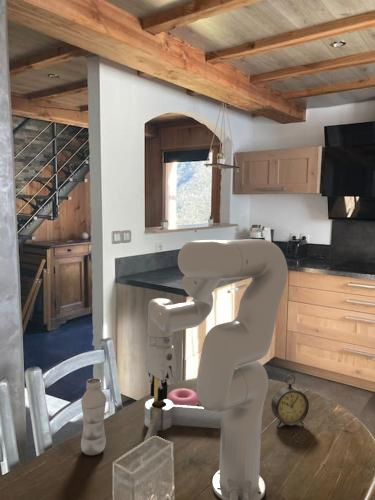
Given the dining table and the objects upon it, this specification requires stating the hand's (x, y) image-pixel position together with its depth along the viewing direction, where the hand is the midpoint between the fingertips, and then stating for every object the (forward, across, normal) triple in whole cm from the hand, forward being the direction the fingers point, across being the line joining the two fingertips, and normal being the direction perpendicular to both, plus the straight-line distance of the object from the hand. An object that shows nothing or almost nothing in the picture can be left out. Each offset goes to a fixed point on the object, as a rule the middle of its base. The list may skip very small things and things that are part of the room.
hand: (158, 396), depth 126 cm
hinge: (+8, -11, 0) cm, 14 cm away
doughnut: (+9, +5, -14) cm, 17 cm away
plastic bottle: (+8, -2, +23) cm, 24 cm away
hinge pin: (+4, 0, 0) cm, 4 cm away
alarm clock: (+8, -25, -32) cm, 41 cm away
